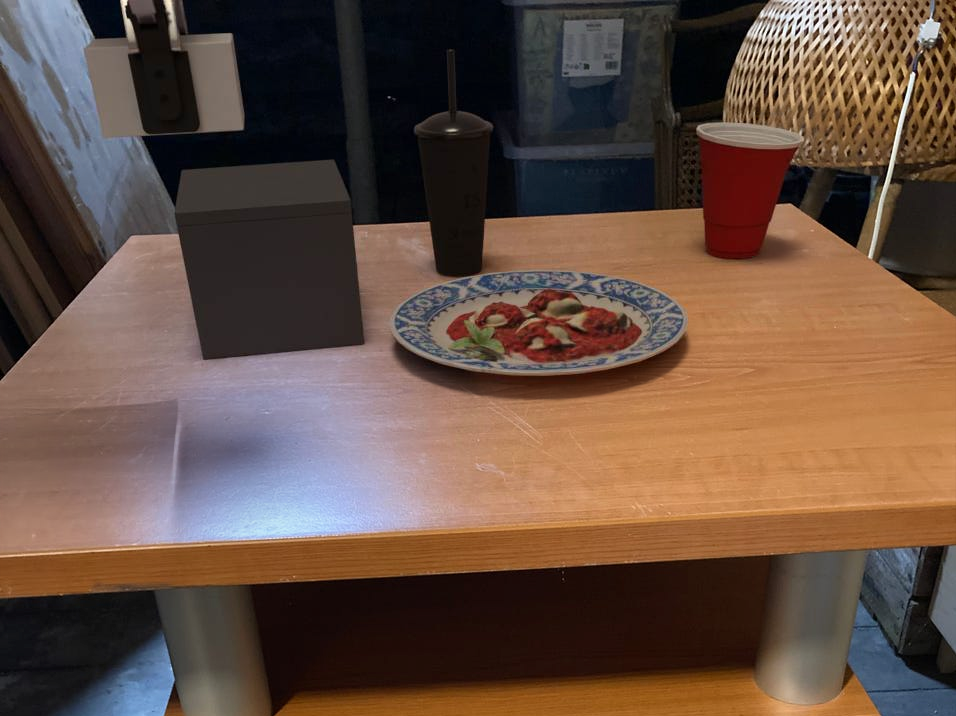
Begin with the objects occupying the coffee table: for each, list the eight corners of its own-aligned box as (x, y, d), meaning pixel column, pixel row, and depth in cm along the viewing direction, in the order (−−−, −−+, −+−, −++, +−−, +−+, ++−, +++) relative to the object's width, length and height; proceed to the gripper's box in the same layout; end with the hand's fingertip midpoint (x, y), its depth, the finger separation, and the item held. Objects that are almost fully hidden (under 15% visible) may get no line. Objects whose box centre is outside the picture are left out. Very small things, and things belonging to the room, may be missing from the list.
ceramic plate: (589, 277, 101) (590, 247, 100) (747, 360, 83) (752, 325, 81) (350, 320, 93) (347, 288, 91) (466, 424, 74) (465, 385, 72)
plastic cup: (795, 266, 103) (816, 138, 96) (689, 267, 103) (702, 140, 96) (777, 237, 111) (794, 117, 104) (679, 237, 112) (690, 119, 105)
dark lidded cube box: (203, 359, 86) (174, 213, 79) (206, 301, 99) (181, 169, 91) (364, 344, 88) (350, 199, 81) (347, 288, 101) (334, 159, 93)
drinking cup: (407, 271, 105) (392, 52, 93) (457, 254, 109) (449, 43, 97) (459, 286, 100) (451, 57, 88) (510, 267, 105) (508, 48, 93)
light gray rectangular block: (103, 138, 57) (83, 48, 55) (112, 124, 61) (93, 39, 58) (244, 130, 58) (231, 41, 56) (244, 117, 62) (232, 32, 59)
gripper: (47, -268, 55) (125, 104, 66) (-20, -321, 41) (92, 156, 52) (186, -269, 56) (240, 98, 67) (165, -321, 42) (237, 148, 53)
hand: (175, 120), depth 59 cm, fingers closed on light gray rectangular block, 4 cm apart
